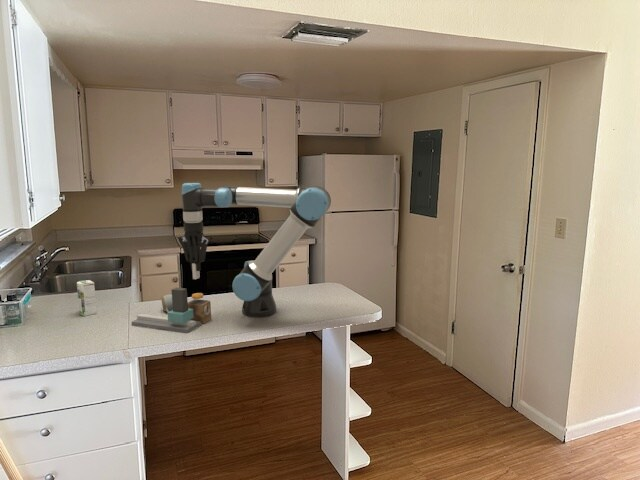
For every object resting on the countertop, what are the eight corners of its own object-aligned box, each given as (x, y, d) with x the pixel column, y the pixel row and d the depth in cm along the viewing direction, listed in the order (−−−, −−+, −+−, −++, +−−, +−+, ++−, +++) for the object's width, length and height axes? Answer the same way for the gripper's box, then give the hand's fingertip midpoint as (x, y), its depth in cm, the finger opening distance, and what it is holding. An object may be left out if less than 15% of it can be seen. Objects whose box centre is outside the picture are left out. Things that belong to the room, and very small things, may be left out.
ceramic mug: (161, 309, 201) (160, 292, 199) (180, 306, 204) (179, 290, 203) (165, 316, 191) (163, 299, 190) (184, 313, 195) (183, 296, 194)
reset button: (205, 296, 185) (205, 293, 185) (199, 299, 181) (198, 296, 181) (196, 295, 187) (196, 292, 187) (190, 298, 183) (189, 295, 182)
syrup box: (78, 313, 195) (75, 281, 193) (93, 310, 200) (89, 279, 197) (83, 316, 192) (79, 284, 189) (97, 313, 196) (94, 281, 193)
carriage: (193, 317, 180) (191, 287, 177) (183, 323, 173) (180, 292, 171) (179, 315, 182) (177, 285, 180) (168, 321, 175) (165, 290, 173)
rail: (200, 325, 180) (200, 318, 180) (187, 333, 172) (186, 325, 171) (147, 318, 189) (146, 311, 189) (131, 325, 181) (131, 318, 180)
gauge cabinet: (212, 319, 187) (211, 300, 186) (204, 324, 181) (203, 304, 180) (195, 317, 190) (194, 298, 188) (186, 321, 184) (185, 302, 183)
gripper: (212, 221, 180) (215, 277, 184) (185, 219, 184) (188, 274, 188) (201, 223, 173) (204, 281, 177) (173, 222, 177) (177, 279, 181)
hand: (196, 278), depth 183 cm, fingers closed
